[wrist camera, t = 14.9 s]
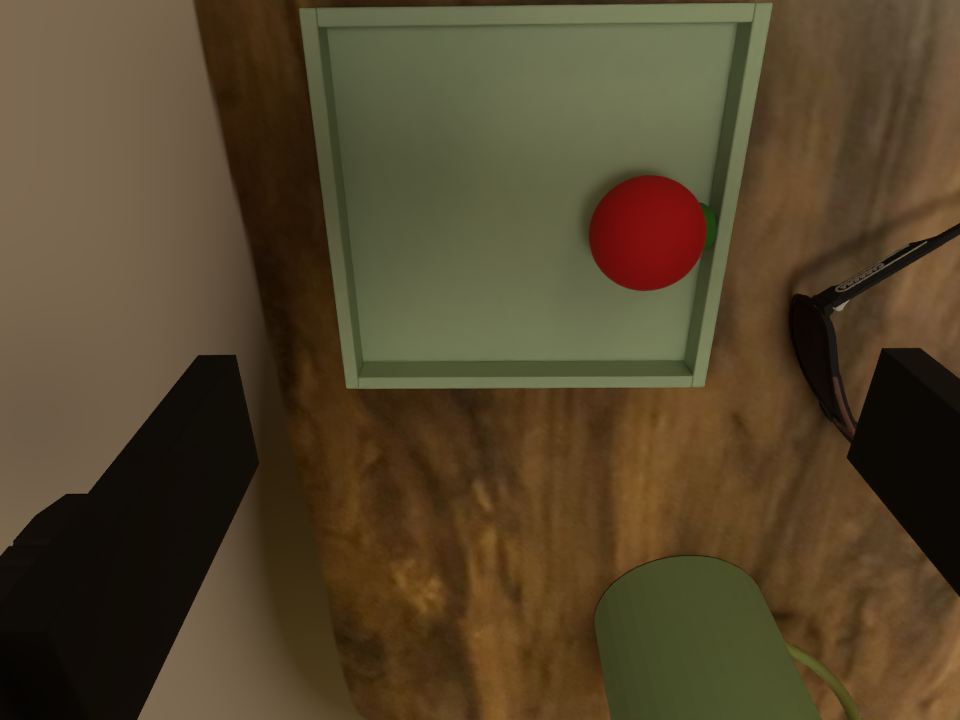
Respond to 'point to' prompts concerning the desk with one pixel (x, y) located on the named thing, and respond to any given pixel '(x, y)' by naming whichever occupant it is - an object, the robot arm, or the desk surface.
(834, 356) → the sunglasses
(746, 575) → the mug
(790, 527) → the desk surface
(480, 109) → the tray
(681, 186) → the red tomato
